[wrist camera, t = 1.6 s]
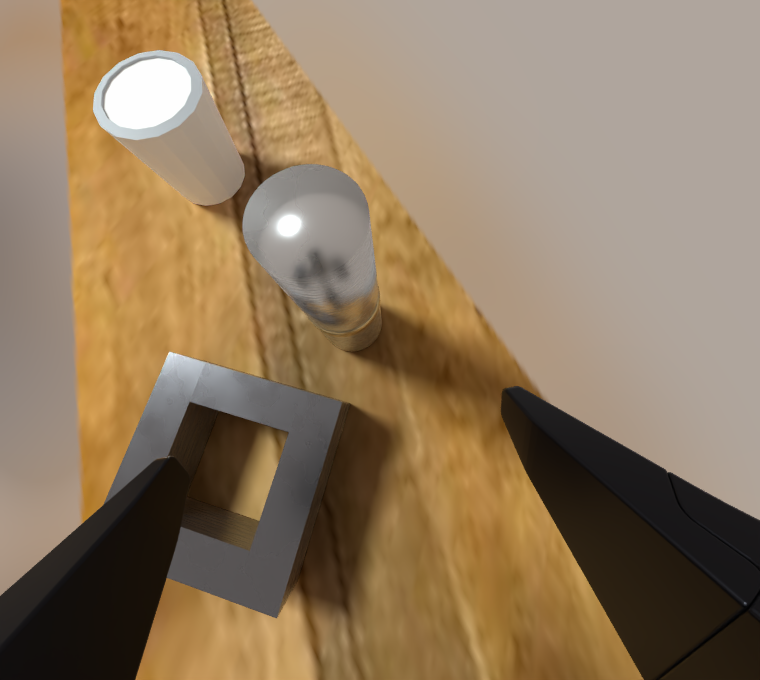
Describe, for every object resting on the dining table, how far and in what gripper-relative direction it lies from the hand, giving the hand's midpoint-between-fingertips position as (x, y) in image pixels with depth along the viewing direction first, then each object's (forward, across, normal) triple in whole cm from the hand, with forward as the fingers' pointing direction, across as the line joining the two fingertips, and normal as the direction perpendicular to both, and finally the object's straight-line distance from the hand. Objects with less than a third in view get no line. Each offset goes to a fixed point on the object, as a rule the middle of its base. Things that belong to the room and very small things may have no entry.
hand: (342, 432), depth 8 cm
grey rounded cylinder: (+14, 0, +4) cm, 15 cm away
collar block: (+8, +9, +10) cm, 15 cm away
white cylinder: (+24, +9, -6) cm, 27 cm away
